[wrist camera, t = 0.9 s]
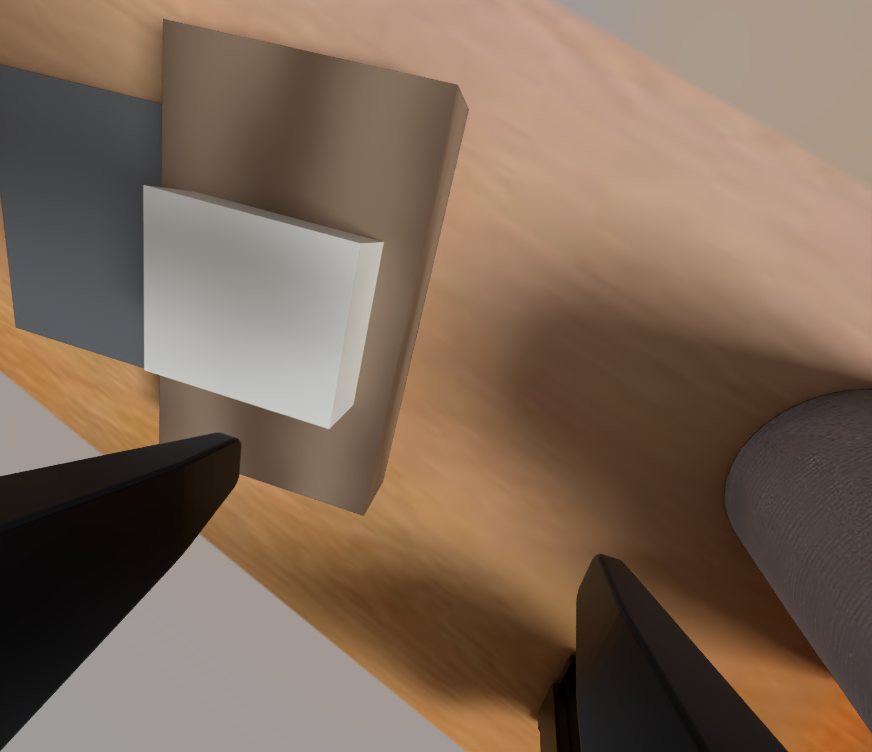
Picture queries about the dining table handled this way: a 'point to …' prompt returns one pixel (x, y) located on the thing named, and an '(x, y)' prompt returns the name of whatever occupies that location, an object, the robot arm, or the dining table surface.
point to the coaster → (255, 303)
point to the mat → (77, 209)
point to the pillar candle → (815, 527)
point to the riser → (320, 204)
